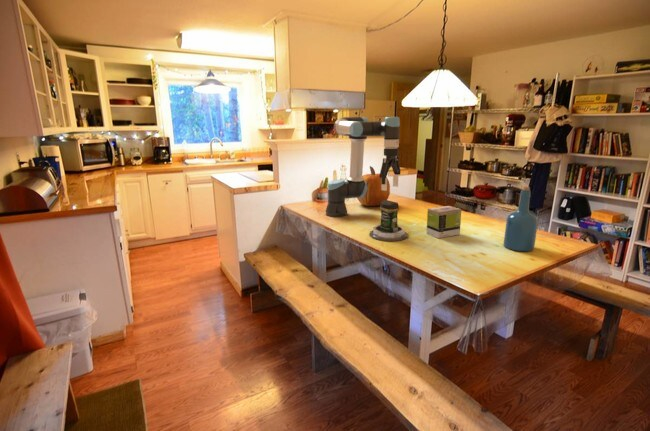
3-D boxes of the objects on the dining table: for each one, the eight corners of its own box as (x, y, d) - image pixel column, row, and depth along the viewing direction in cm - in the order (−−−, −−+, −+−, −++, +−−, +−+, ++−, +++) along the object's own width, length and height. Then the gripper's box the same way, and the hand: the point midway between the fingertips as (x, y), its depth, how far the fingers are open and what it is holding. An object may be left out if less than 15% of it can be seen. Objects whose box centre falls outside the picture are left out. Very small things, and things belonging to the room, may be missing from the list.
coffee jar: (377, 233, 188) (377, 200, 183) (387, 230, 192) (388, 198, 187) (389, 237, 180) (390, 203, 175) (400, 234, 184) (401, 201, 180)
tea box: (447, 230, 193) (449, 205, 189) (460, 235, 184) (462, 208, 180) (425, 233, 188) (427, 207, 184) (437, 238, 179) (439, 211, 175)
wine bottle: (518, 254, 156) (527, 190, 148) (496, 244, 168) (503, 185, 161) (541, 250, 159) (551, 188, 152) (518, 241, 172) (526, 183, 164)
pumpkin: (358, 209, 246) (358, 168, 238) (353, 202, 267) (353, 164, 260) (393, 208, 248) (394, 167, 240) (385, 201, 269) (386, 164, 262)
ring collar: (380, 227, 200) (380, 221, 199) (414, 233, 188) (414, 227, 187) (362, 236, 184) (362, 230, 183) (398, 244, 172) (398, 237, 171)
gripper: (386, 149, 162) (385, 192, 168) (407, 146, 182) (406, 185, 187) (373, 149, 167) (372, 191, 172) (395, 146, 186) (393, 184, 191)
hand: (389, 188), depth 180 cm, fingers open, 13 cm apart
